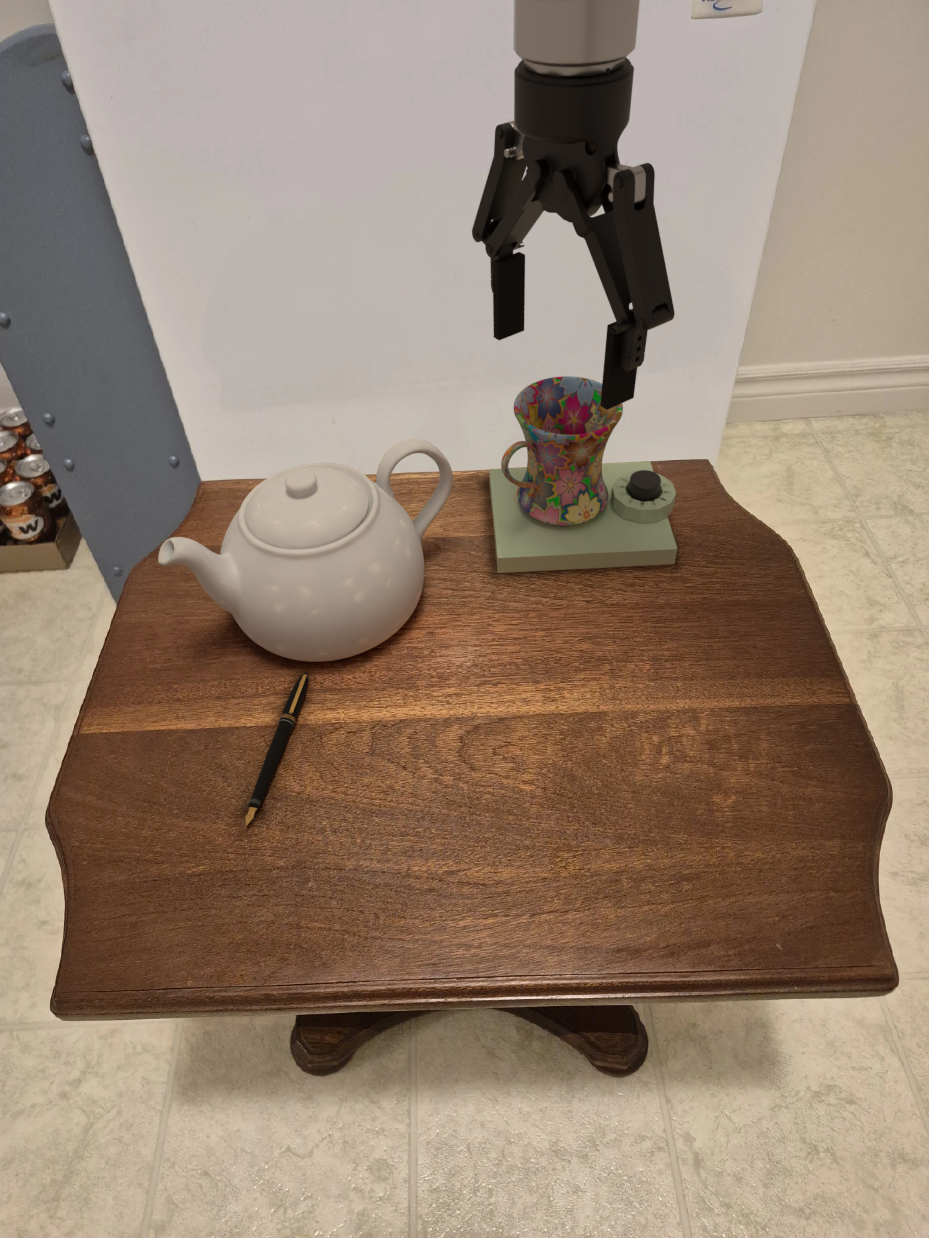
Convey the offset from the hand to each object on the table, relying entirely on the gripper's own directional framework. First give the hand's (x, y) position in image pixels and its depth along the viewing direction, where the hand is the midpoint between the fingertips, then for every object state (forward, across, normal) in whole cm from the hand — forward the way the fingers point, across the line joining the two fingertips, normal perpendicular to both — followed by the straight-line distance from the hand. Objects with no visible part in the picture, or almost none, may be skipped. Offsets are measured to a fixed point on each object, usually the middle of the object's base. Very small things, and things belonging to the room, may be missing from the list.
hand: (559, 366), depth 68 cm
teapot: (+17, +4, +21) cm, 28 cm away
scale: (+17, -1, -2) cm, 17 cm away
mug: (+15, 0, 0) cm, 15 cm away
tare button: (+14, -4, -7) cm, 16 cm away
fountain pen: (+17, -7, +33) cm, 38 cm away
